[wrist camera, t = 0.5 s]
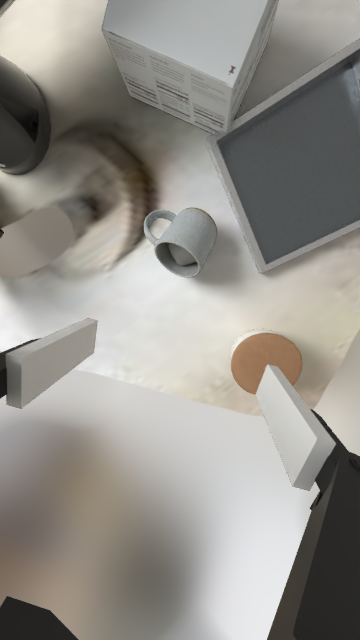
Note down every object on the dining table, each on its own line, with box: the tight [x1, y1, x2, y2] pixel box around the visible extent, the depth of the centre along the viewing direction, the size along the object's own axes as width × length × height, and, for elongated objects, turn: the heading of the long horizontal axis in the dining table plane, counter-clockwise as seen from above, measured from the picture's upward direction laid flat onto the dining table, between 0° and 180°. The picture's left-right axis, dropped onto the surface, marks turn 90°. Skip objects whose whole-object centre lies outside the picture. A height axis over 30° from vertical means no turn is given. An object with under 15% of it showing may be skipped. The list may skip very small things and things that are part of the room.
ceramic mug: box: [144, 208, 217, 277], centre depth 30 cm, size 11×8×8 cm
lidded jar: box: [230, 329, 302, 395], centre depth 34 cm, size 11×11×9 cm
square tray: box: [207, 38, 360, 273], centre depth 30 cm, size 22×22×2 cm
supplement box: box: [102, 0, 279, 134], centre depth 25 cm, size 17×13×9 cm
